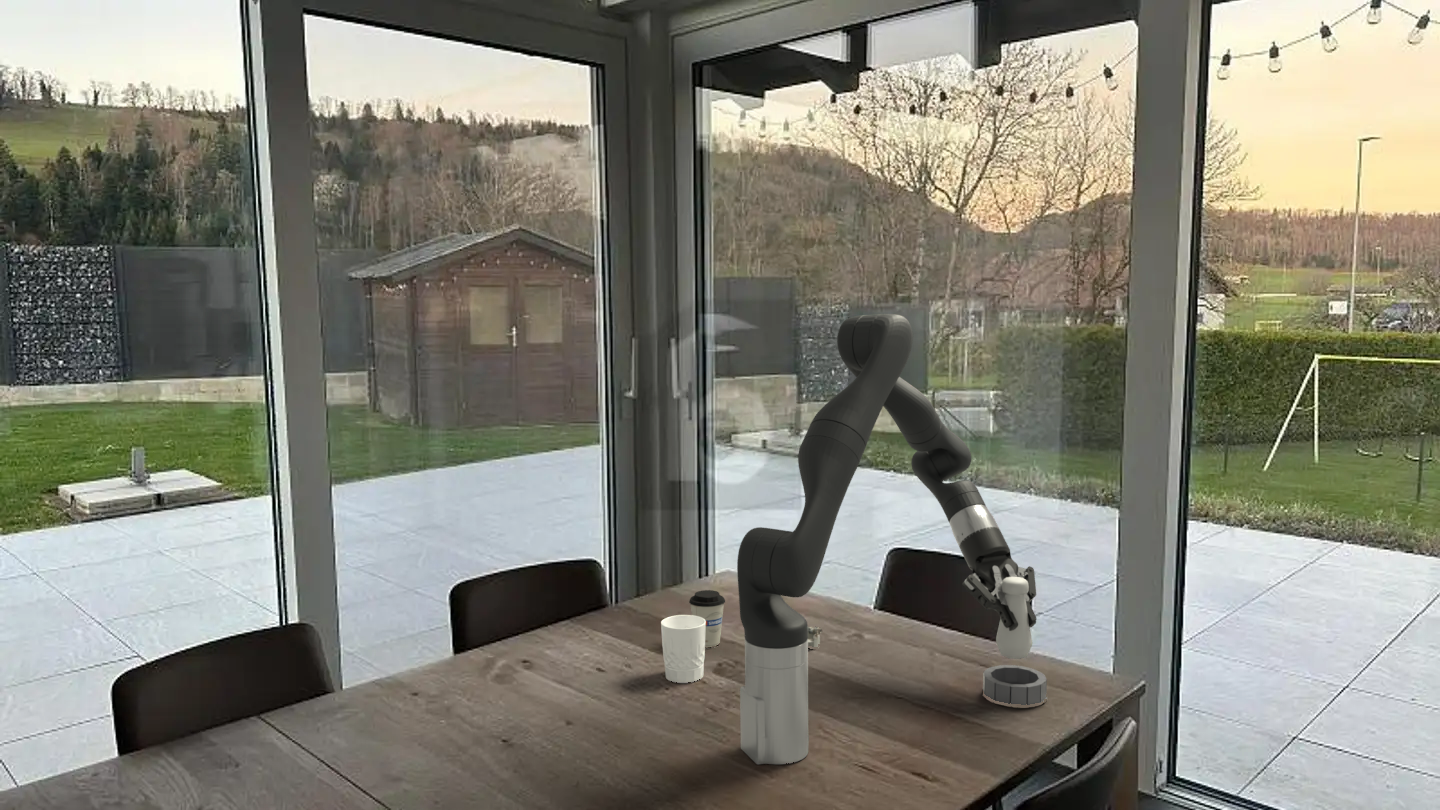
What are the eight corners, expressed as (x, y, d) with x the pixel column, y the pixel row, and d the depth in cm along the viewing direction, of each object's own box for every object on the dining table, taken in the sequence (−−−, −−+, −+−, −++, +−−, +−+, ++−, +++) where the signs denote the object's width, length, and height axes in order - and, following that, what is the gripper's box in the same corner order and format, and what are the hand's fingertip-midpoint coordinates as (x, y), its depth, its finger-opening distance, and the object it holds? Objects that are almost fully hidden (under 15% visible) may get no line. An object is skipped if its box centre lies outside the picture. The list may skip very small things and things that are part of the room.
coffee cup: (684, 641, 203) (683, 591, 202) (716, 636, 206) (715, 586, 205) (698, 652, 197) (697, 601, 196) (731, 646, 200) (731, 595, 198)
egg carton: (825, 650, 198) (825, 629, 197) (789, 656, 195) (789, 634, 194) (799, 633, 208) (799, 613, 207) (764, 638, 205) (764, 618, 204)
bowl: (1008, 712, 167) (1008, 691, 167) (969, 690, 176) (969, 670, 176) (1060, 702, 171) (1061, 681, 170) (1019, 680, 180) (1020, 661, 180)
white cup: (709, 669, 188) (708, 615, 187) (704, 685, 180) (703, 629, 179) (665, 668, 189) (664, 614, 188) (658, 684, 181) (657, 628, 180)
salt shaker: (1033, 662, 170) (1035, 584, 168) (996, 660, 171) (998, 582, 169) (1030, 649, 175) (1031, 574, 174) (994, 647, 176) (996, 572, 175)
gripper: (953, 529, 175) (998, 622, 165) (1022, 521, 180) (1069, 610, 170) (935, 553, 180) (977, 643, 171) (1002, 544, 186) (1046, 631, 176)
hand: (1022, 626), depth 171 cm, fingers closed on salt shaker, 3 cm apart
